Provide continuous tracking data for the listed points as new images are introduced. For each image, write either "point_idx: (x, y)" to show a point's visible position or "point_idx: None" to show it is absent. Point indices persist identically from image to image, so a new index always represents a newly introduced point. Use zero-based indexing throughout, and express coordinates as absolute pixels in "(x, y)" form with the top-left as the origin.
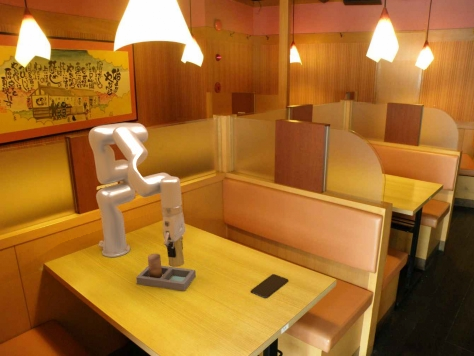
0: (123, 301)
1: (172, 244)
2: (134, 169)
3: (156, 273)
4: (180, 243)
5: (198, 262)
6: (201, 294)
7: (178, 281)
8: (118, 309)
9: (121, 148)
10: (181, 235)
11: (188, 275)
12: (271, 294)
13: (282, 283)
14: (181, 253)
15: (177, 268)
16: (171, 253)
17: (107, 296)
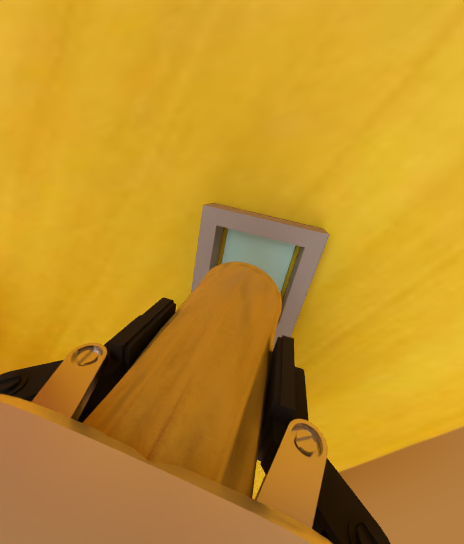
0: (366, 407)
1: (316, 494)
2: None
3: None
4: (207, 370)
5: (115, 211)
6: (360, 145)
7: (302, 263)
8: (413, 416)
9: None
10: (98, 464)
11: (251, 227)
12: None
13: None
14: (237, 301)
15: (198, 282)
16: (302, 390)
17: (330, 441)
